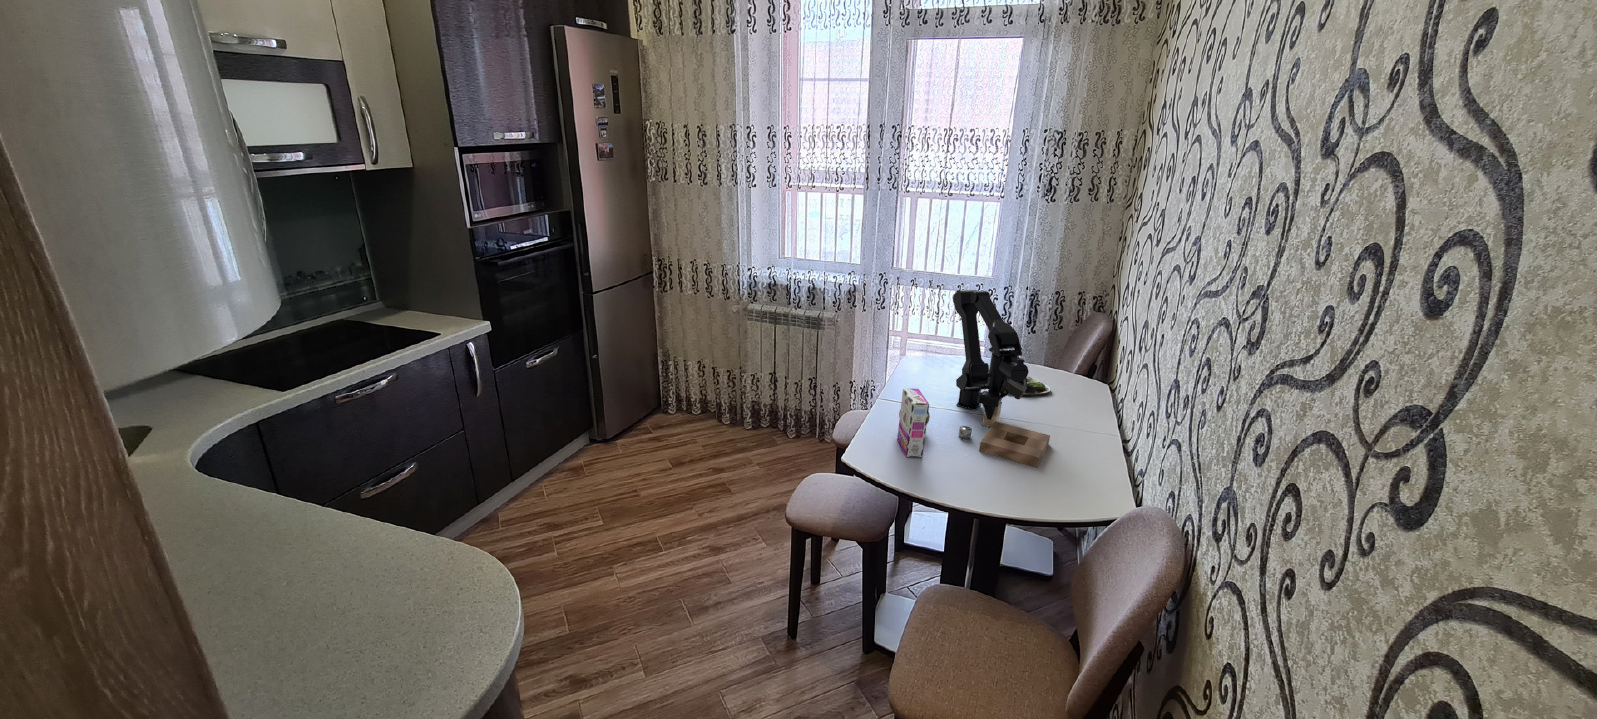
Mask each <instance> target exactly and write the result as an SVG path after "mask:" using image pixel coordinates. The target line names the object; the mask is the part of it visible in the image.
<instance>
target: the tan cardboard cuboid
mask: <svg viewBox="0 0 1597 719" xmlns="http://www.w3.org/2000/svg"><path fill="white" fill-rule="evenodd" d="M1002 406H1003V402H1002V403H1001V404H1000V405H999V406H998V407H996V408H995V411H994V414H993V416H992V419H991V420H989V419H987V416H986V413H985V410H984V413H983V417H982V425H984V426H987V427H990V428H991V426H992V425H993V423H994V422H995V421H996V422H1000V418H1001V411H1002V410H1001V409H1002Z"/></svg>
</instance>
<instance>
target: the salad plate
mask: <svg viewBox="0 0 1597 719" xmlns="http://www.w3.org/2000/svg"><path fill="white" fill-rule="evenodd" d="M1025 385H1026V387H1027V389H1026V390H1025V392H1024V393H1023V395H1022V397H1023V398H1035V397H1036V398H1037V397H1044V396H1048V395H1050V393H1051V392H1052V388H1051V387H1050V386H1049V385H1047V384H1045V383H1043V382H1041V380H1039V379H1037V378H1035V377H1032V376H1029V375H1027V377H1026V378H1025ZM1022 397H1021V398H1022Z"/></svg>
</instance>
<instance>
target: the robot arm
mask: <svg viewBox="0 0 1597 719" xmlns="http://www.w3.org/2000/svg"><path fill="white" fill-rule="evenodd" d="M952 302H953V304H954V310H955V312H956V313H957V314H958V315H959V317H960V319H961V320H960V321H961V327H962V337H963V344H964V345H963V346H964V347H963V348H964V356H965V362H964V364H963V366H962V368H961V375H960V376H958V378H956V380H955V386H956V387H957V388H959V395H958V401H957V403H956V406H958V407H961V408H964V409H969V410H973V411H976V410H977V409H978V408H979V407H980V406H981V405H982V407H983V409H984V411H985V413H986V416H987V419H989V420H991V419H992V416H993V414H994V411H995V408H996V407H998V406H999V405H1000V404H1001V403H1002V404H1003V401H1002V399H1003V398H1005V397H1007V396H1008V395H1010V396H1012V397H1013V398H1014V399H1016V400H1017V401H1018V400H1021V398H1022V395H1023V393H1024V392H1025V390H1026V389H1027V387H1026V385H1025V378H1026V377H1027V376H1029V368H1028V366H1027V364H1025V360H1024V358H1021V356H1023V352H1022V351H1023V348H1022V344H1021V342H1020V338H1019V334H1018V333H1017V331H1016V330H1015V328H1014V327H1013V326H1012V325H1011V324H1009V323H1007V322H1005V320H1004V319H1003V318H1002V316H1001V314H1000V313H999V310H998V309H997V307H996V306H995V304H994V302H993V300H992V298H991V293H990V292H989V291H987V290H977V289H957V290H956V292H955V293H954V294H953V296H952ZM978 313H979V315H980V317H981V318H982V320H983V322H984V323H985V325H986V327H987V329H988V334H987V338H988V341H989V344H990V347H989V348H988V351H989V352H991V356H990V363H988V362H985V361H984V360H983V359H982V354H981V352H982V351H981V344H980V333H979V326H978V325H979V324H978V316H977V315H978ZM982 390H983V391H982Z"/></svg>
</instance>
